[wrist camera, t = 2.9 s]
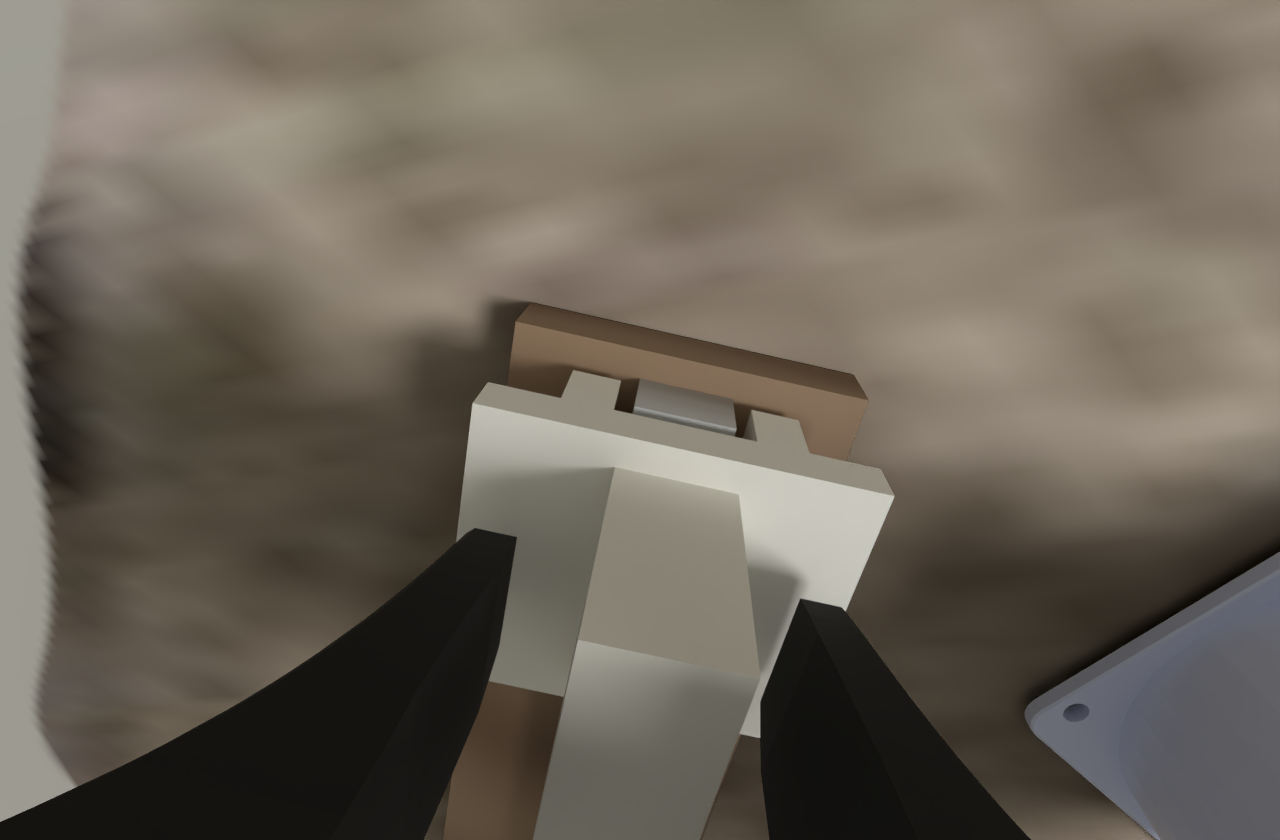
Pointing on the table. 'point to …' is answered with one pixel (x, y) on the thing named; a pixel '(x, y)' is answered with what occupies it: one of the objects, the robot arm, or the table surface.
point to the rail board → (655, 388)
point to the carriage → (653, 588)
